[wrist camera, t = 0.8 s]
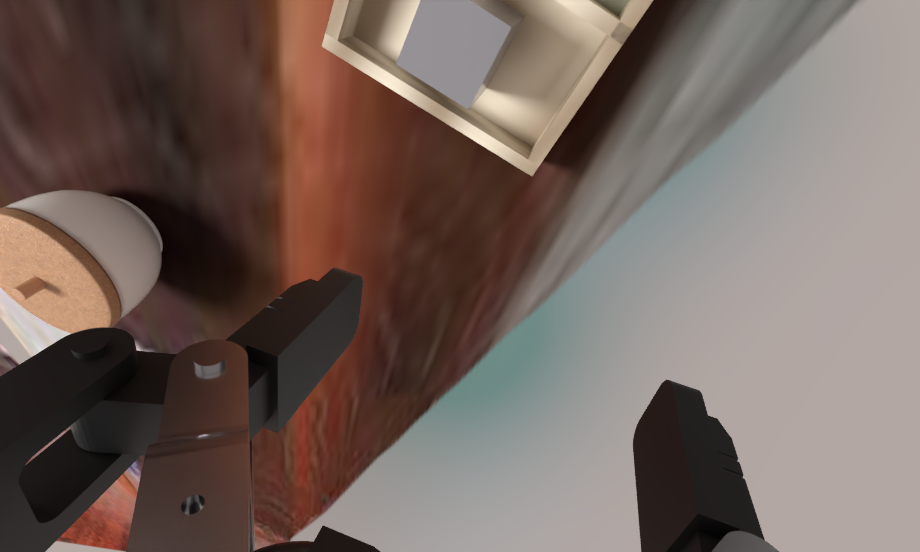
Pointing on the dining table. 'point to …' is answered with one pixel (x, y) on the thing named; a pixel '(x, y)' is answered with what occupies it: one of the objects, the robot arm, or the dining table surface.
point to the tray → (517, 77)
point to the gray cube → (459, 45)
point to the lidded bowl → (78, 257)
